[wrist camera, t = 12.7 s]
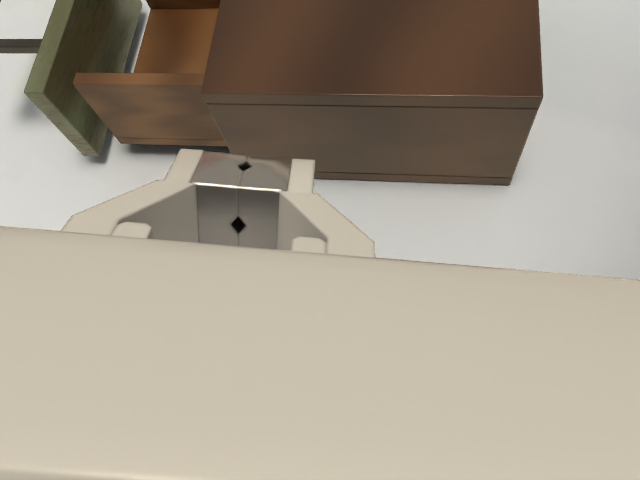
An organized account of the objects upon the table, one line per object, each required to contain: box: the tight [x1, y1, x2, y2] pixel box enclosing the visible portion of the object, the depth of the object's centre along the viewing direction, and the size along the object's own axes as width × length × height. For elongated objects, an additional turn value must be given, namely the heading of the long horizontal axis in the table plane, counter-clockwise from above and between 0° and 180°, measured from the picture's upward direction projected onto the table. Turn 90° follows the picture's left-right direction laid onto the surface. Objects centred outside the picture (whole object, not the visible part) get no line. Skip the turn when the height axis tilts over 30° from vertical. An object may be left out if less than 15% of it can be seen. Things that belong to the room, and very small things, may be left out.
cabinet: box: [201, 0, 543, 185], centre depth 35 cm, size 17×14×9 cm
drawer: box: [0, 0, 227, 156], centre depth 37 cm, size 21×13×7 cm, turn 84°
